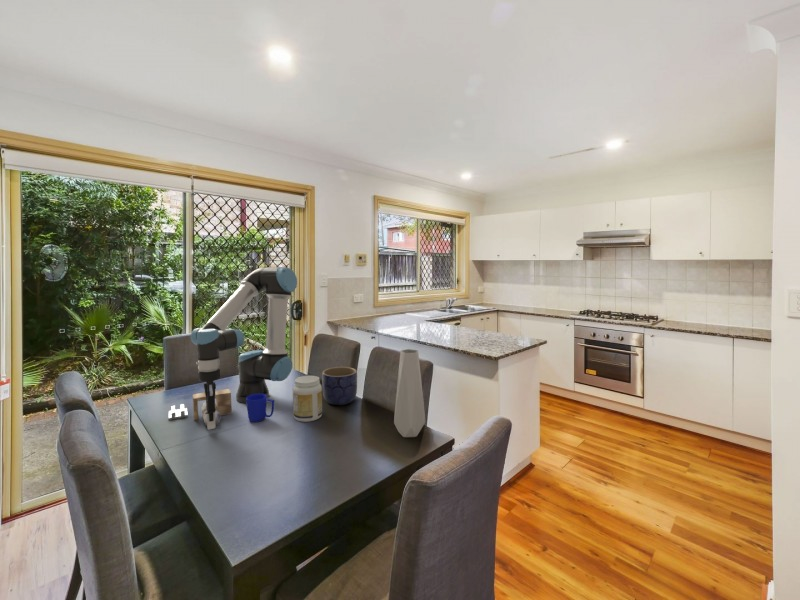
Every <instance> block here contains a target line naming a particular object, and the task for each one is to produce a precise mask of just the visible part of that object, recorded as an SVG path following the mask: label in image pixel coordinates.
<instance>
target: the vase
mask: <svg viewBox="0 0 800 600" xmlns="http://www.w3.org/2000/svg"><path fill="white" fill-rule="evenodd" d="M398 365H399V366H398V372H397V373H398V374H397V382H396V383H397V384H396V393H395V394H396V395H395V406H394V415H393V416H394V419H393V424H394V425H395V428H396V429H397V432H398V433H399V434H400V435H401V436H402V438H416V437H418V435H419V434H420V432H421V431H422V428H423V427H424V425H425V423H426V412H425V404H424V393H423V384H422V375H421V367H420V366H421V364H420V355H419V350H417V349H410V348H408V349H401V350H400V353H399V363H398Z"/></svg>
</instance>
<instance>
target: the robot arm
mask: <svg viewBox="0 0 800 600" xmlns="http://www.w3.org/2000/svg"><path fill="white" fill-rule="evenodd" d="M297 285H298V279H297V275H296V273H295V272H294V270H292V268H290V267H285V266H277V267H276V266H263V267H258V268H256V269H255V270H253V271H252V272H250V273H249V274H248V275H246V277H244V278H243V279H242V280H241V282H240V283H239V287H238V288H237V289H236V290H235V291H234V293H232V295H230V297H229V298H228V299H227V300H226V302H224V304H222V306H221V307H220V308H219V309H218V310H217V311H216V312H215V314H214V315H213V316H212V317H211V318H210V319H209V320H208V321H207V322H206V324H204V325H203V327H197V328H194V329H193V330H192V332H191V333H190V341H191V343H192V344H193V345H195V346H196V351H197V352H196V354H197V361H196V362H195V365H197V369H198V372H197V373H198V374H197V376H198V381H199V382H202V383H203V382H205V383H203V388H204V392H205V396H206V400H205V402H206V408H207V412H205V414H207V425H206V426H207V427H206V428H207V430H212V429H216V425H215V410H216V408H215V403H216V398H215V391H216V389H217V385H216V382H214V381H217V380H220V378H221V369H220V368H221V363H220V362H221V360H220V359H221V358H220V353H221V352H223V351H228V350H233V349H236V348H239V347H241V346H243V344H244V343H245V334H244V333H243V331H241V330H240V329H237V328H236V329H231V330H226V329H227V328H228V327H229V326H230V325H231V323H232V322H233V321H234V320H235V319H236V317H238V315H239V314H240V313H241V312H242V311H243V309H244V308H246V306H247V304H249V302H251V300H252V299H253V298H254V297H255V298H256V297H257V296H258V295H259V294H260V293H263V292H265V296H267V298H268V308H267V325H266V326H267V327H266V338H265V339H266V341H265V342H266V343H265V349H264V350H263V349H256V350H250V351H245V352H242V353H240V354H239V356H238V362H237V363H238V374H239V375H238V376H239V377H238V378H239V384H238V386H237V392H236V394H235V399H236V402H239V403H245V404H247V403H246V397H247V396H249V395H253V394H265V395H267V399H269V397H270V392H269V391H270V390H269V388H268V385H267V383H266V380H267V381H272V382H283V381H284V380H286V379H287V378H288V377H289V376H290V374H291V372H292V369H293V360H292V359H291V357H288V356H289V352H288V350H286V337H287V336H286V335H287V334H286V333H287V316H288V300H289V299H290V298H291V297H292V292H294V291H295V290H296V288H297V287H298V286H297Z"/></svg>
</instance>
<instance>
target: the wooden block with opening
mask: <svg viewBox="0 0 800 600" xmlns="http://www.w3.org/2000/svg"><path fill="white" fill-rule="evenodd" d="M202 401H206V396H205V391H203V392H200V393H194V394H192V410H193V411H192V413H193V419H194V421H198V420H199V403H198V402H202ZM215 403H216V406H217V409H218V412H219V415H220V416H225V415H231V414H232V413H233V412H232V392H231V390H230V388H225V389H219V390H218V389H217V390H215Z"/></svg>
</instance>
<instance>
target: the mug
mask: <svg viewBox="0 0 800 600" xmlns="http://www.w3.org/2000/svg"><path fill="white" fill-rule="evenodd" d="M267 402H270V403H271V410H270V413H269V415H268V414H267ZM245 404H246V408H247V418H248V421H250V422H252V423H257V422H261V421H264V420H265V418H270V417H272V416H273V414H274V410H275V399H272V398H271V399H270V398H267V395H265V394H253V395H249V396H247V397H246V403H245Z"/></svg>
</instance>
